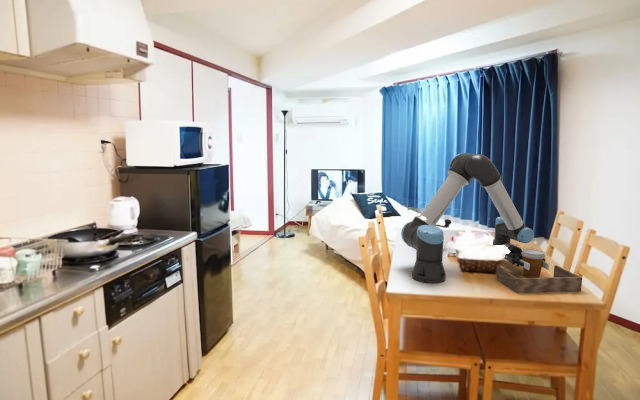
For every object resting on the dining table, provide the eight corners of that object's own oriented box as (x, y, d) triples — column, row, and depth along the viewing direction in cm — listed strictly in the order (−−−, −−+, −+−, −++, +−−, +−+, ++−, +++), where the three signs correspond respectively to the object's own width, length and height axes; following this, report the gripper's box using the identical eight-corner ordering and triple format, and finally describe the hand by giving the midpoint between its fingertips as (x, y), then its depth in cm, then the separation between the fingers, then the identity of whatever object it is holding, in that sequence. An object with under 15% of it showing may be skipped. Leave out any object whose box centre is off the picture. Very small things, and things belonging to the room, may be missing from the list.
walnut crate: (515, 293, 169) (516, 279, 168) (496, 279, 186) (496, 266, 185) (580, 291, 171) (582, 277, 170) (555, 277, 188) (556, 265, 187)
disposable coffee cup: (514, 275, 187) (516, 250, 185) (529, 273, 190) (531, 247, 188) (532, 282, 178) (534, 255, 176) (548, 279, 182) (550, 253, 180)
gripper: (531, 259, 202) (561, 274, 179) (490, 260, 201) (514, 275, 178) (533, 244, 201) (562, 258, 178) (491, 245, 200) (515, 258, 177)
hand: (538, 266), depth 178 cm, fingers closed on disposable coffee cup, 8 cm apart
